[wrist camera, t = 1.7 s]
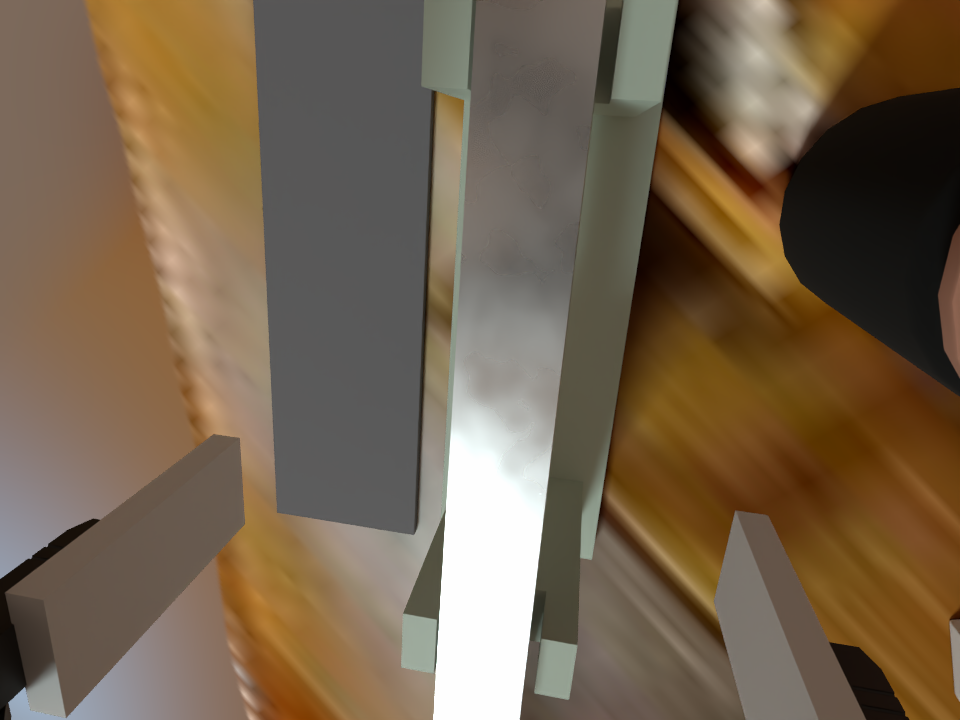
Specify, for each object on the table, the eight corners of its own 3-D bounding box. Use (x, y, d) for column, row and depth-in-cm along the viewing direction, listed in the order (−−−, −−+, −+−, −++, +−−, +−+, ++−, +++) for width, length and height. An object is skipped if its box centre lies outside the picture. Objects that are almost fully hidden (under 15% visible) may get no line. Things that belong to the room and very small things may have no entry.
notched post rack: (476, -8, 32) (386, -121, 18) (675, 1, 31) (742, -114, 17) (445, 522, 43) (373, 703, 29) (591, 545, 42) (590, 747, 28)
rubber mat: (256, -39, 34) (251, -42, 33) (439, -32, 32) (436, -35, 32) (281, 507, 45) (277, 512, 45) (416, 529, 44) (414, 534, 43)
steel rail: (507, -49, 21) (482, -103, 16) (612, -45, 21) (617, -99, 16) (456, 651, 31) (432, 740, 27) (526, 664, 31) (514, 757, 26)
